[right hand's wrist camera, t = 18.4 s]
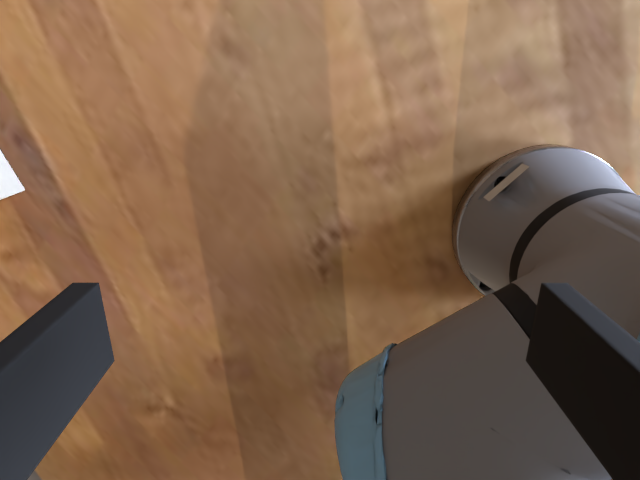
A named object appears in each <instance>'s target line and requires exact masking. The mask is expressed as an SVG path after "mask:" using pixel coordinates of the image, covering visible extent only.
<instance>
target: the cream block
mask: <svg viewBox="0 0 640 480" xmlns="http://www.w3.org/2000/svg"><path fill="white" fill-rule="evenodd" d="M22 191H25V189H24V187H23V186H22V184H21V182H20V181H19V179H18V178H17V176H16V174H15V173H14V171H13V170H12V168H11V166H10V165H9V163H8V162H7V160H6V158H5V157H4V155H3V153H2V152H1V150H0V200H2V199H4V198H7V197H9V196H12V195H15V194H17V193H20V192H22Z"/></svg>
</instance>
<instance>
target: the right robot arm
mask: <svg viewBox="0 0 640 480" xmlns="http://www.w3.org/2000/svg"><path fill="white" fill-rule="evenodd" d="M452 243H453V250H454V253H455V257H456V259H457V262H458V264H459V266H460V268H461V270H462V271H463V272H464V274H465V275H466V277H467V278H468V279H469V281H470V282H471V283H472V284H473V285H474V287H475V288H476V289H477V290H479V291H480V292H481V293H482V294H484V295H485V297H483V298H481V299H479V300H478V301H476V302H474V303H472V304H470V305H468V306H467V307H465V308H463V309H461V310H459V311H458V312H456V313H454V314H452V315H450V316H448V317H447V318H445V319H443V320H441V321H439V322H438V323H436V324H434V325H432V326H430V327H428V328H427V329H425V330H423V331H421V332H419V333H418V334H416V335H414V336H412V337H410V338H408V339H407V340H405V341H403V342H401V343H399V344H393V343H392V344H390V345H388V346H387V347H385V349H384V350H383V352H382V353H380V354H379V355H377V356H375V357H374V358H372V359H371V360H369V361H367V362H366V363H364V364H362V365H361V366H359V367H358V368H356V369H354V370H353V371H352V372H351V373H349V374H348V376H347V377H346V378H345V379H344V381H343V383H342V385H341V387H340V389H339V392H338V395H337V400H336V410H335V414H336V416H335V438H336V447H337V454H338V459H339V464H340V470H341V474H342V478H343V480H611V479H613V480H640V196H639V195H636V194H635V193H634V192H633V191H632V190H631V189H630V187H629V186H628V185H627V184H626V183H625V182H624V181H623V180H622V179H621V177H620V176H619V175H618V173H617V172H616V171H615V170H614V169H613V168H612V167H611V166H610V165H608V164H607V163H606V162H605V161H603V160H602V159H600V158H599V157H597V156H595V155H593V154H591V153H588V152H585V151H582V150H578V149H574V148H571V147H567V146H561V145H538V146H532V147H528V148H524V149H521V150H518V151H515V152H513V153H510V154H508V155H506V156H504V157H502V158H501V159H499V160H497V161H496V162H494V163H493V164H491V165H490V166H489V167H488V168H486V169H485V170H484V171H483V172H482V173H481V174H480V175H479V176H478V177H477V178H476V179H475V180H474V181H473V182H472V184H471V185H470V186H469V188H468V189H467V191H466V192H465V194H464V195H463V197H462V199H461V201H460V203H459V205H458V208H457V211H456V214H455V218H454V222H453V229H452ZM113 362H114V356H113V351H112V346H111V341H110V336H109V331H108V326H107V322H106V317H105V312H104V307H103V302H102V297H101V292H100V287H99V283H72V284H71V285H70V286H68V287H67V288H66V289H65V290H63V291H62V292H61V293H60V294H59V295H57V296H56V297H55V298H54V299H52V300H51V301H50V302H49V303H48V304H46V305H45V306H44V307H43V308H41V309H40V310H39V311H38V312H37V313H35V314H34V315H33V316H32V317H30V318H29V319H28V320H27V321H26V322H24V323H23V324H22V325H21V326H19V327H18V328H17V329H16V330H15V331H13V332H12V333H11V334H10V335H8V336H7V337H6V338H5V339H4V340H2V341H1V342H0V480H27V479H28V478H29V476H30V475H31V474H32V472H33V471H34V470H35V468H36V467H37V465H38V464H39V463H40V461H41V460H42V459H43V457H44V456H45V455H46V453H47V452H48V450H49V449H50V448H51V446H52V445H53V444H54V442H55V441H56V440H57V438H58V437H59V435H60V434H61V433H62V431H63V430H64V429H65V427H66V426H67V425H68V423H69V422H70V420H71V419H72V418H73V416H74V415H75V414H76V412H77V411H78V410H79V408H80V407H81V406H82V404H83V403H84V401H85V400H86V399H87V397H88V396H89V395H90V393H91V392H92V391H93V389H94V388H95V386H96V385H97V384H98V382H99V381H100V380H101V378H102V377H103V376H104V374H105V373H106V371H107V370H108V369H109V367H110V366H111V365H112V363H113Z"/></svg>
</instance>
